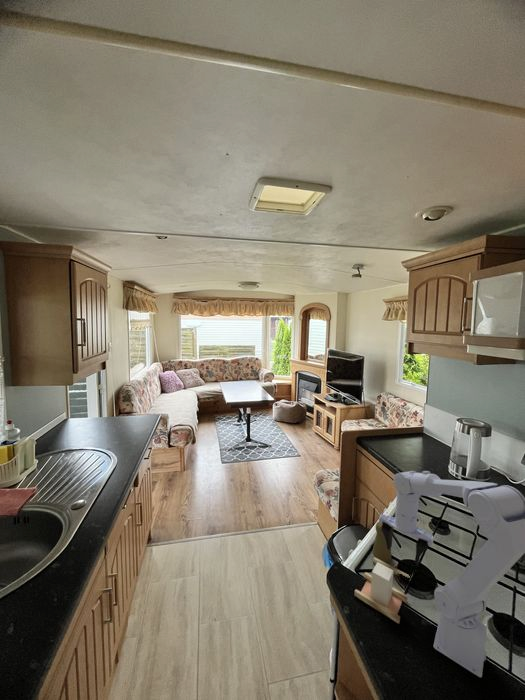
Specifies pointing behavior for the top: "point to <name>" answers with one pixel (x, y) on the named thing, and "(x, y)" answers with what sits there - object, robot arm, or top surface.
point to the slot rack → (394, 601)
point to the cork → (381, 545)
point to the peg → (381, 584)
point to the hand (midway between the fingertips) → (402, 554)
